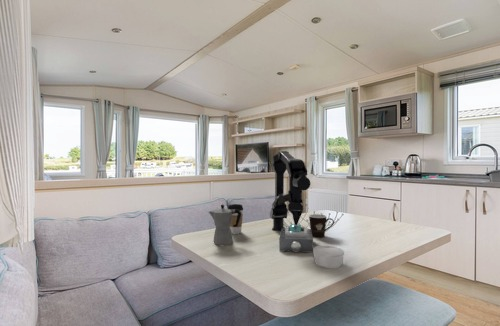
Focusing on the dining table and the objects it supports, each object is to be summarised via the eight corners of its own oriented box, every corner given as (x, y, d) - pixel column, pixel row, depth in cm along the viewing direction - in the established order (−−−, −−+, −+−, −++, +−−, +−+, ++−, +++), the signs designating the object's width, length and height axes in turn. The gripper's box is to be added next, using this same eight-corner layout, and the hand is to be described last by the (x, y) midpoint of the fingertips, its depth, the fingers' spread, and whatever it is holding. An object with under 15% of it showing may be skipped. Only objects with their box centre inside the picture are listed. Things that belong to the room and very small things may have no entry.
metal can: (290, 242, 124) (289, 224, 124) (301, 243, 123) (301, 224, 123) (289, 246, 119) (289, 226, 119) (301, 246, 118) (300, 227, 118)
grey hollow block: (281, 239, 131) (281, 224, 131) (311, 240, 128) (311, 225, 128) (279, 252, 113) (278, 234, 113) (313, 254, 111) (313, 236, 111)
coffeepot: (207, 246, 123) (207, 206, 122) (210, 239, 132) (209, 203, 132) (241, 245, 123) (241, 206, 123) (241, 239, 133) (241, 202, 132)
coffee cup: (225, 234, 142) (224, 205, 142) (232, 229, 150) (231, 202, 149) (239, 235, 139) (239, 206, 138) (246, 231, 147) (245, 203, 146)
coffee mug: (307, 237, 134) (306, 217, 134) (311, 232, 142) (311, 213, 142) (331, 240, 129) (330, 219, 129) (334, 235, 137) (334, 215, 136)
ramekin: (335, 257, 108) (335, 244, 107) (350, 268, 96) (350, 253, 96) (308, 259, 106) (308, 246, 105) (320, 271, 95) (320, 256, 94)
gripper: (279, 185, 132) (279, 217, 132) (275, 190, 114) (276, 227, 114) (302, 185, 130) (302, 217, 130) (302, 190, 112) (303, 228, 112)
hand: (296, 222), depth 122 cm, fingers open, 9 cm apart
